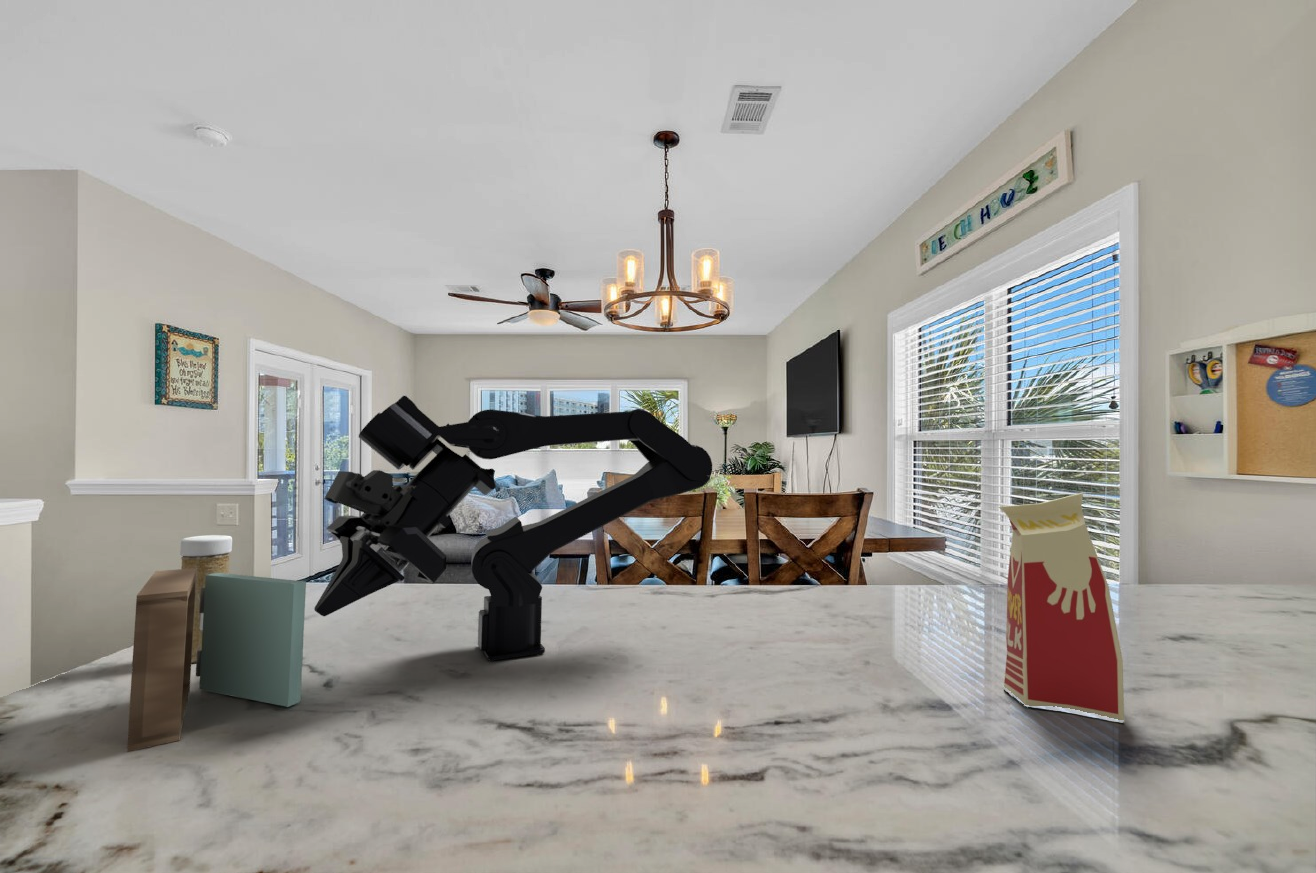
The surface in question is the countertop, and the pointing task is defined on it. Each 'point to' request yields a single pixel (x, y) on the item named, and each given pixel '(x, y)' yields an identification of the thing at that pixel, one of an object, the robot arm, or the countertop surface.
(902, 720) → the countertop surface
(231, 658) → the door
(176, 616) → the cabinet
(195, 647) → the sprinkles bottle
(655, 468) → the robot arm
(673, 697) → the countertop surface
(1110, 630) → the milk carton
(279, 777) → the countertop surface
